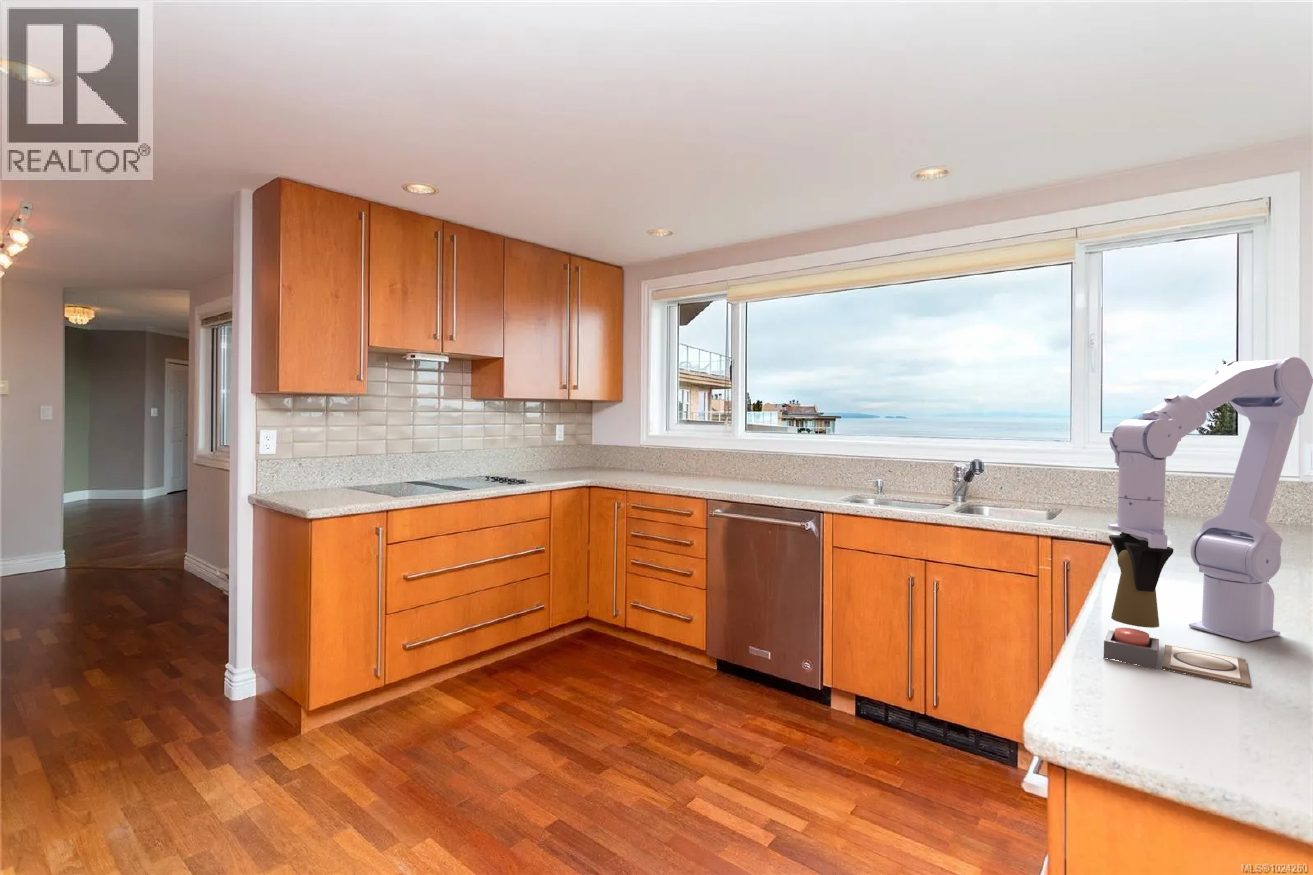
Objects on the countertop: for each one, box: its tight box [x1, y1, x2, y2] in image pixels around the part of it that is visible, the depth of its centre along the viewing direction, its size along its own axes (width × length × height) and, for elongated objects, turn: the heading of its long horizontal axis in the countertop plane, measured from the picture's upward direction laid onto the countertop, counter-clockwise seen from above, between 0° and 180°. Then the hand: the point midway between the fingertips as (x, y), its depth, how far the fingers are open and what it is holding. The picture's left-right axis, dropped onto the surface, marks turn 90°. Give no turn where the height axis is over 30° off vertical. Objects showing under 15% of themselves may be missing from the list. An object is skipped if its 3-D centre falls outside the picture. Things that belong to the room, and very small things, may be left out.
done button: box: [1114, 627, 1150, 647], centre depth 93 cm, size 4×4×2 cm
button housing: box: [1103, 629, 1160, 670], centre depth 94 cm, size 6×6×3 cm
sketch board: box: [1161, 644, 1251, 688], centre depth 91 cm, size 11×9×1 cm
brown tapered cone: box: [1110, 550, 1160, 629], centre depth 100 cm, size 6×6×11 cm
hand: (1138, 586), depth 100 cm, fingers closed on brown tapered cone, 5 cm apart
